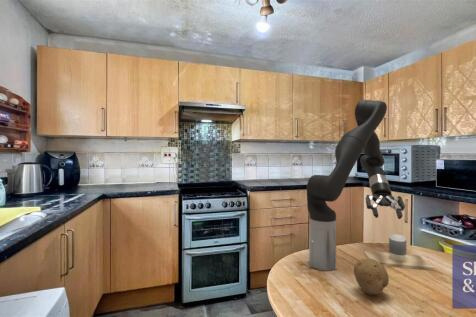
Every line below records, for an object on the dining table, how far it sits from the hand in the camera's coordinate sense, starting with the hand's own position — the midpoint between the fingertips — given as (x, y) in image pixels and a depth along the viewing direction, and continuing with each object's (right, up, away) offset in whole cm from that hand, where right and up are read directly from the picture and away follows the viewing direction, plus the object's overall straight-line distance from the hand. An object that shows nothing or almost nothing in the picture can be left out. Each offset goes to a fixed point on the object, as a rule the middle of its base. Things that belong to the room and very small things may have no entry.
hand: (388, 217), depth 102 cm
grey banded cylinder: (-2, -14, -8) cm, 16 cm away
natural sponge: (-23, -15, -30) cm, 41 cm away
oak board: (-2, -15, -8) cm, 17 cm away
